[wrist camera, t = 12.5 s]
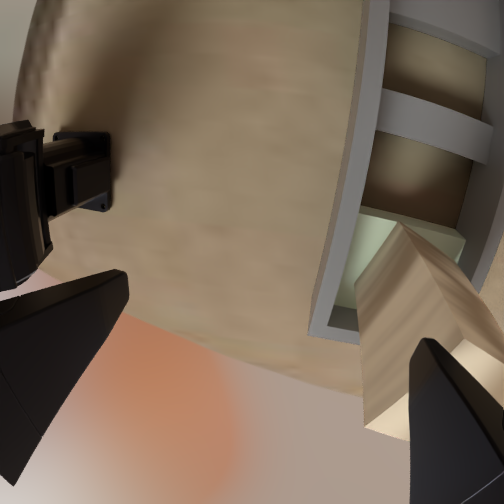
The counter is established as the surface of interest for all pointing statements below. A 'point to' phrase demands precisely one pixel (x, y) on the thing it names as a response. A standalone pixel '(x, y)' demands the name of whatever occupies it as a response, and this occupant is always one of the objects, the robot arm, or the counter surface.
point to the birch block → (419, 325)
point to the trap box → (422, 130)
